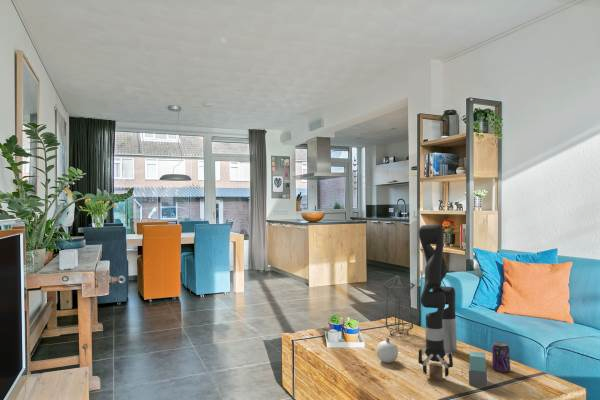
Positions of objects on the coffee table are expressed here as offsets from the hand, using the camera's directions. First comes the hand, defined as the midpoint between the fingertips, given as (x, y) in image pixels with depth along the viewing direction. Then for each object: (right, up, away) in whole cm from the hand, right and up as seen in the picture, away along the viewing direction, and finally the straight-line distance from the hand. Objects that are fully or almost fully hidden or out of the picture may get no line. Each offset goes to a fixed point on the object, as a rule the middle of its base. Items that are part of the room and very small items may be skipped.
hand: (435, 375), depth 182 cm
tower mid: (+16, +5, -5) cm, 18 cm away
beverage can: (+32, -1, +7) cm, 33 cm away
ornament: (-17, -3, +22) cm, 28 cm away
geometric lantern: (0, -4, +65) cm, 66 cm away
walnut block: (0, -2, 0) cm, 2 cm away
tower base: (+16, -1, -5) cm, 17 cm away
